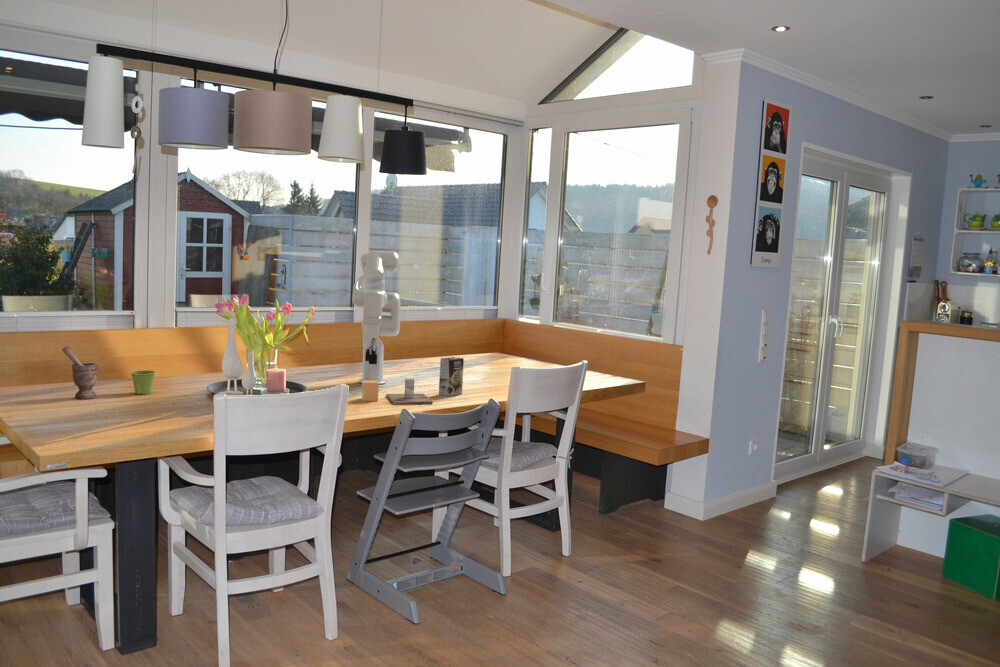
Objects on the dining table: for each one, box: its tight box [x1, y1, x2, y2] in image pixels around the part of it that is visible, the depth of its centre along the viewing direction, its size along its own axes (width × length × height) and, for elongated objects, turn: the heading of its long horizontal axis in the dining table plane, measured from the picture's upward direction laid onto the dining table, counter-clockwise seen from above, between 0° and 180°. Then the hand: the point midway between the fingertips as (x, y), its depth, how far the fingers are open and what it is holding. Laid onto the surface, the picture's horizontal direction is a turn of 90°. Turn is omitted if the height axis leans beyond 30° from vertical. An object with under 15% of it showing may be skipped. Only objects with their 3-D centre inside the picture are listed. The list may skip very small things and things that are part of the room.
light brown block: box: [361, 380, 380, 402], centre depth 318 cm, size 6×6×8 cm
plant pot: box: [130, 370, 157, 395], centre depth 308 cm, size 9×9×9 cm
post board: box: [385, 377, 433, 406], centre depth 321 cm, size 18×16×9 cm
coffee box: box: [438, 356, 465, 397], centre depth 338 cm, size 9×6×16 cm
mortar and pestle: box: [62, 345, 98, 400], centre depth 294 cm, size 12×9×20 cm
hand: (371, 362), depth 316 cm, fingers open, 9 cm apart
